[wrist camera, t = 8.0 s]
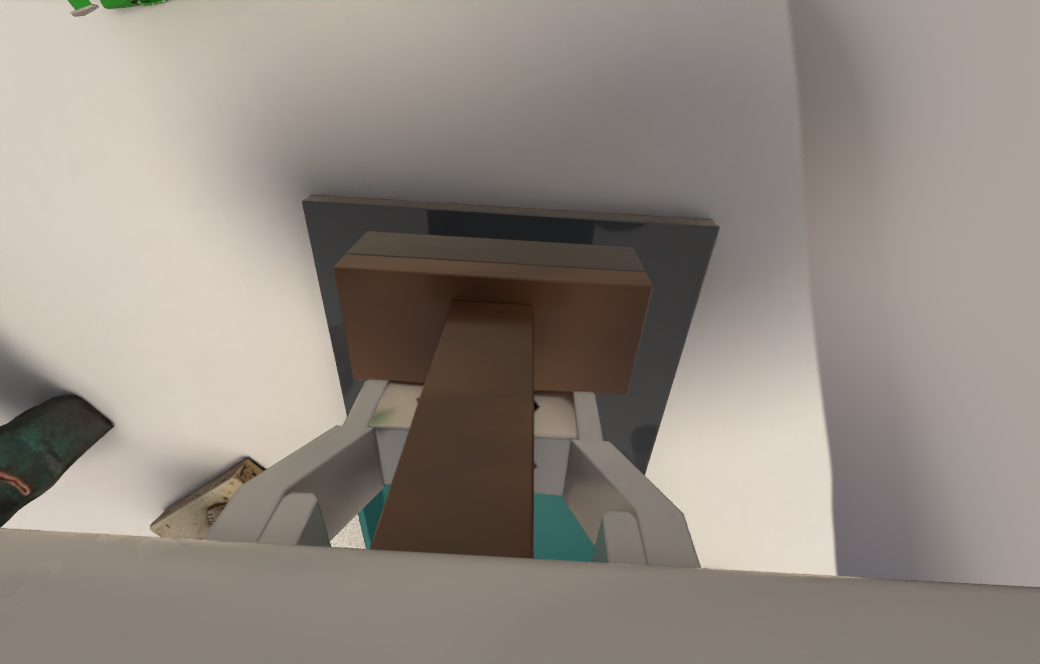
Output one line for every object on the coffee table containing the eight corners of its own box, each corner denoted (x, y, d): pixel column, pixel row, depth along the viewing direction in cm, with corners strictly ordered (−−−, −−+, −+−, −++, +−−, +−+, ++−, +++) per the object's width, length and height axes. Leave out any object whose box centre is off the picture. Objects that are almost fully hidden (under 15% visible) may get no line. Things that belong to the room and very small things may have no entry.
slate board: (712, 219, 20) (720, 226, 19) (641, 464, 28) (644, 476, 28) (310, 194, 20) (300, 200, 19) (361, 446, 28) (355, 458, 28)
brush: (633, 246, 15) (796, 567, 6) (613, 344, 17) (708, 694, 8) (366, 230, 15) (89, 527, 6) (380, 330, 17) (195, 666, 8)
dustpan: (370, 450, 29) (352, 493, 26) (631, 466, 29) (641, 511, 26) (403, 627, 41) (393, 669, 38) (584, 638, 41) (587, 681, 38)
